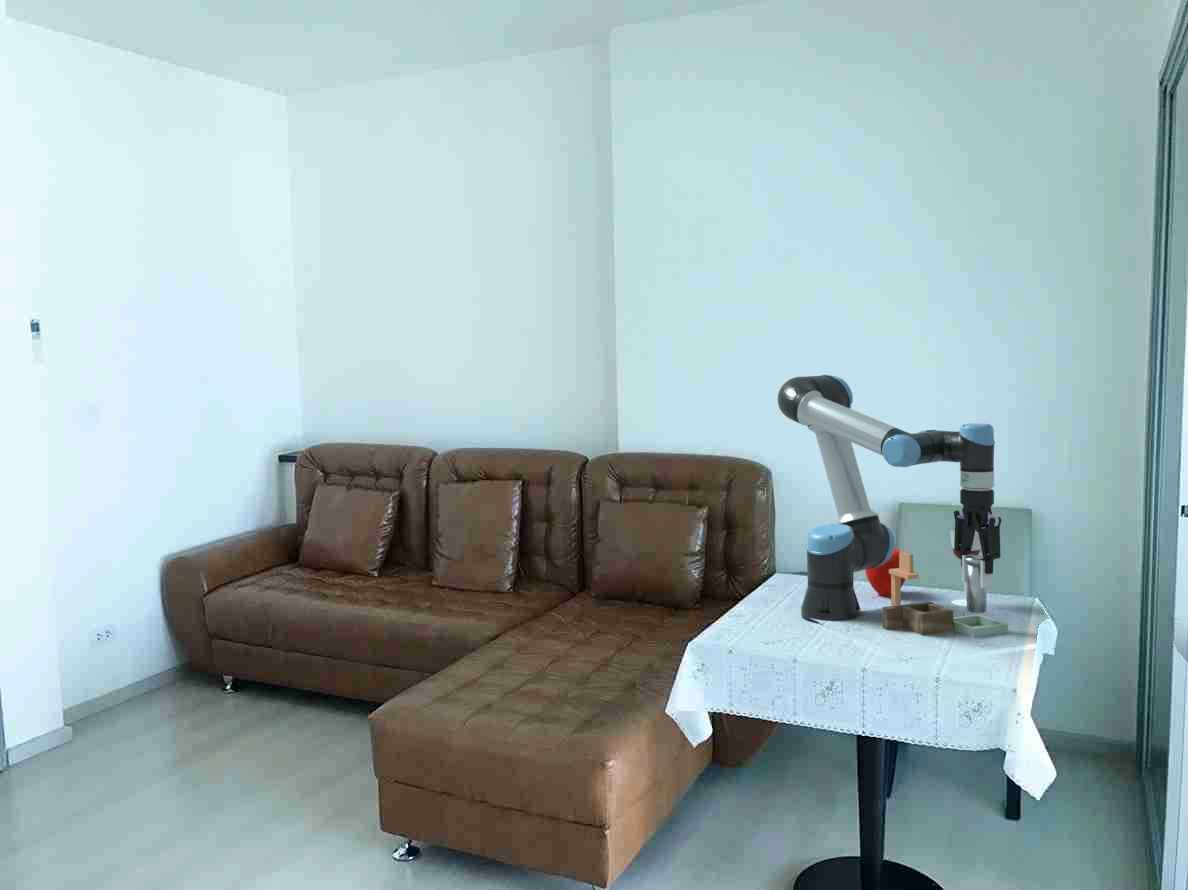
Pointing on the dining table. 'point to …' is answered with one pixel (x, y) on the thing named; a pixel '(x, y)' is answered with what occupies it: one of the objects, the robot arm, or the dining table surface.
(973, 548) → the wineglass
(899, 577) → the keeper
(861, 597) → the dining table surface
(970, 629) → the dish
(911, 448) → the robot arm
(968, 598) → the pin
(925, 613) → the block
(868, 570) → the apple
